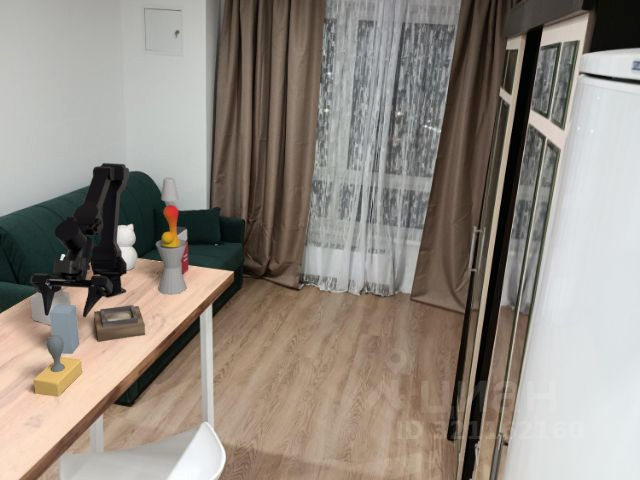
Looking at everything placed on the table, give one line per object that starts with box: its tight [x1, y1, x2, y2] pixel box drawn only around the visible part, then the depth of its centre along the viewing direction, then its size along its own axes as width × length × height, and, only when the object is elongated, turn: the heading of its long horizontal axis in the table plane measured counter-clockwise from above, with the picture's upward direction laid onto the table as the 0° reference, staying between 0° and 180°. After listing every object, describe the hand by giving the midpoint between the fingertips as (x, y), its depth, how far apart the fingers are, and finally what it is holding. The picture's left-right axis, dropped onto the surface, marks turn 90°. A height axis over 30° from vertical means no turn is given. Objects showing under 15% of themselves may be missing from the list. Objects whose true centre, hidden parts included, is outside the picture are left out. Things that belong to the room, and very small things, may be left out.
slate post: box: [50, 304, 80, 355], centre depth 146 cm, size 4×4×11 cm
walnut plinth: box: [93, 304, 146, 343], centre depth 159 cm, size 12×12×4 cm
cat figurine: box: [117, 223, 138, 272], centre depth 195 cm, size 9×12×15 cm
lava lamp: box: [155, 177, 188, 296], centre depth 179 cm, size 9×9×35 cm
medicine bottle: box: [29, 274, 72, 327], centre depth 161 cm, size 7×7×12 cm
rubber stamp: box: [33, 334, 83, 397], centre depth 132 cm, size 10×6×12 cm, turn 171°
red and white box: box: [164, 226, 189, 275], centre depth 192 cm, size 11×4×15 cm, turn 168°
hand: (65, 315), depth 146 cm, fingers open, 9 cm apart
